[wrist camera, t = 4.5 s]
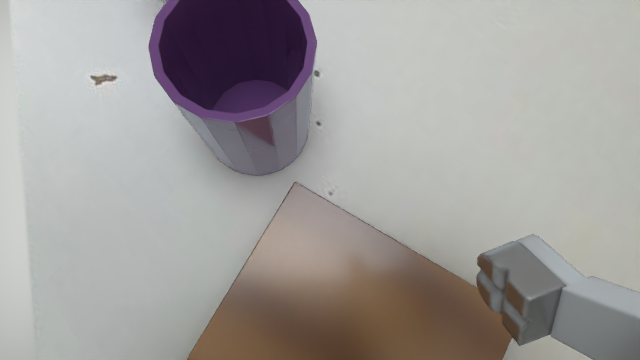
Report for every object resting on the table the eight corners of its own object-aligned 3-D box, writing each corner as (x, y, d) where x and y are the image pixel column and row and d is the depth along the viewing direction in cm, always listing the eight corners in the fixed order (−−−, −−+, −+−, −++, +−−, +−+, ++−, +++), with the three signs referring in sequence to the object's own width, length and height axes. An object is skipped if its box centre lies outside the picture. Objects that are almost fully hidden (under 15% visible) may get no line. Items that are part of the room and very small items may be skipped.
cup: (274, 194, 25) (260, 152, 15) (186, 142, 25) (115, 68, 15) (327, 109, 26) (345, 20, 16) (242, 61, 26) (209, -55, 17)
